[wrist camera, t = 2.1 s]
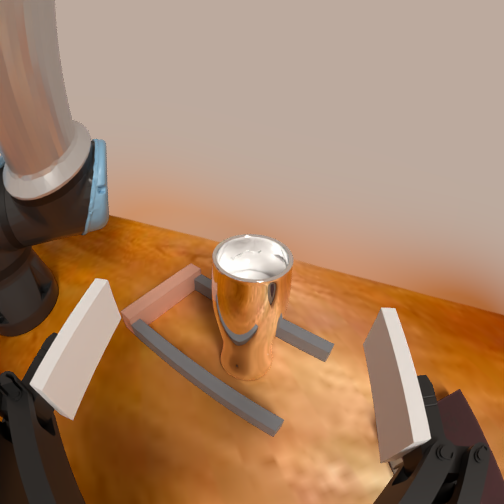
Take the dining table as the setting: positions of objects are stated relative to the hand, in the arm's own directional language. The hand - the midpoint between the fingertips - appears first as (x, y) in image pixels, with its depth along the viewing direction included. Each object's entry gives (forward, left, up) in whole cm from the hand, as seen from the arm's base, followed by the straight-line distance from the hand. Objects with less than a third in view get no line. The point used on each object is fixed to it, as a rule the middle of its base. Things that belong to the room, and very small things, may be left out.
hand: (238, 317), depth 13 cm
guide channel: (-9, +9, -18) cm, 22 cm away
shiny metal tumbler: (-5, +9, -19) cm, 21 cm away
